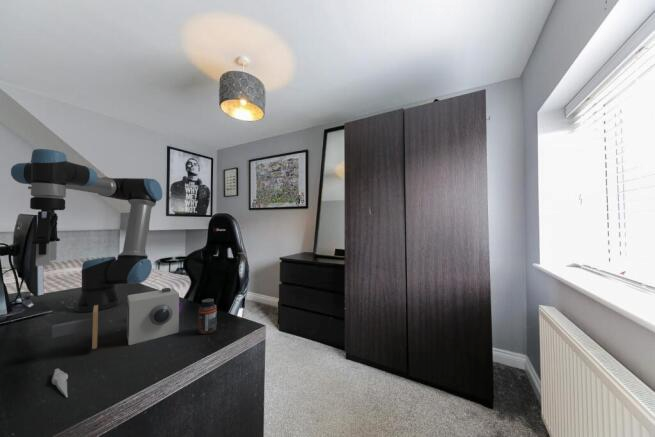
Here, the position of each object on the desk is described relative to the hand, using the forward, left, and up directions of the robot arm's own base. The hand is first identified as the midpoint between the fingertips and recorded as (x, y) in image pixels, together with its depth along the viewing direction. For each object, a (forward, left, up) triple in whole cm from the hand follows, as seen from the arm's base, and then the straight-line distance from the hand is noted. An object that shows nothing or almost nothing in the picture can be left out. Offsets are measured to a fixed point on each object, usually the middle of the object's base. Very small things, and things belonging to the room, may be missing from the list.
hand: (46, 263), depth 79 cm
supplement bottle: (+24, +42, -27) cm, 55 cm away
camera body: (+14, +27, -27) cm, 40 cm away
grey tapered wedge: (+32, +7, -27) cm, 42 cm away
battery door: (+13, +8, -25) cm, 29 cm away
